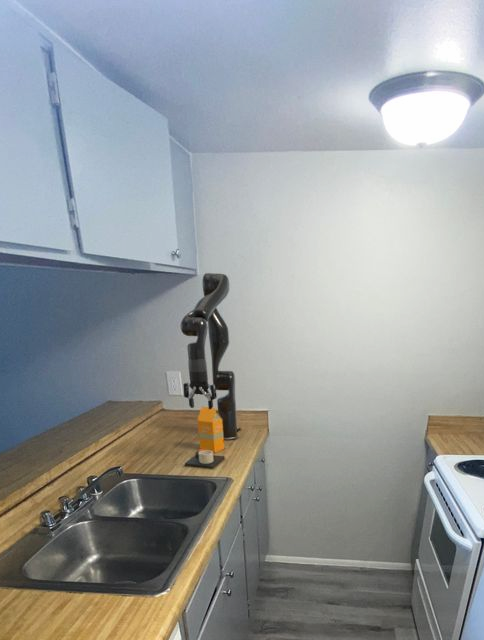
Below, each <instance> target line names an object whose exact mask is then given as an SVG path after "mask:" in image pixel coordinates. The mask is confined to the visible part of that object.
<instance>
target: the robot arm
mask: <svg viewBox="0 0 484 640" xmlns="http://www.w3.org/2000/svg"><path fill="white" fill-rule="evenodd" d="M230 284H231V283H230V279H229V276H227V275H226V274H224V273H212V272H211V273H210V272H206V273H204V274H203V275H202V292H203V297H202V298H200V299H199V300H198V301H197V302H196V304H195V306H194V308H193V309H192V310H191V311H189V312H188V313H186V315H184V316H183V317H182V319H181V321H180V331H181V333H182V334H183V335H185V336H186V337H197V338H196V341H193V342H189V343H188V344H187V358H188V359H187V360H188V361H187V362H188V363H187V364H188V368H187V369H188V374H189V382H190V383H189V382H185V383H183V397H184V398H187V399H188V405H189V406H188V407H190V409H194V408H195V399H194V396H195V395H201V396H202V395H203V396H204V397H205V398H206V399H207V400H208V401H207V403H208V404H207V405H208V406H207V407H208V408H209V409H212V408H214V400H215V399H217V400H216V402H217V403H216V405H217V411H218V413H219V415H220V416H221V418H222V424H223V440H224V441H231V440H235V439H238V432H239V431H240V430H241V427H238V423H237V422H238V421H237V400H236V375H235V371H232V370H220V364H221V361H222V359H223V357H224V355H225V354H226V352H227V350H228V347H229V346H230V335H229V334H230V333H229V326H228V325H227V323H226V321H225V319H224V318H223V316H222V315H221V313H220V311H219V309H218V307H219V305H220V304H221V303H222V302H223V301H224V300H225V299H226V298H227V297H228V295H229V293H230V289H231V288H230V287H231V285H230ZM207 333H208V341H209V346H210V348H209V349H210V355H211V373H212V374H211V375H212V384H209V383H208V382H209V377H208V366H207V365H208V363H207V358H206V341H207ZM190 389H191V391H190ZM209 390H210V391H209ZM217 391H228V392H227V393H226V394H224V395H223V396H219V397H218V395H217Z"/></svg>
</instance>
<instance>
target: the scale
mask: <svg viewBox="0 0 484 640" xmlns="http://www.w3.org/2000/svg"><path fill="white" fill-rule="evenodd" d="M225 459H226V456H224V455H216V454H213V460H214V461H213V462H212V463H210V464H202V463H200V462H199V454H198V450H197V451H195V452H194V456H193V457H192V458H190V459H188V460H187V461H186V462H185V463H184V466H185V467H188V468H189V467H190V468H198V469H199V468H200V469H210V470H214V469H215V468H216V467H217V466H218V465H219V464H220V463H222V462H223V461H225Z"/></svg>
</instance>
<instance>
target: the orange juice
mask: <svg viewBox="0 0 484 640" xmlns="http://www.w3.org/2000/svg"><path fill="white" fill-rule="evenodd" d="M197 427H198V428H197V430H198V439H199V449H205V450H210V451H213V454H214V453H217V452H219V451H222V450H224V449H225V442H224V441H225V440H223V424H222V418H221V416H220V415H219V413H218V408H216V407H215V408H214V407H212V409H209V407H208V406H201V407H200V411H199V414H198V418H197Z"/></svg>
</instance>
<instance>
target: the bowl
mask: <svg viewBox="0 0 484 640" xmlns="http://www.w3.org/2000/svg"><path fill="white" fill-rule="evenodd" d="M198 454H199V462H200V463H202V464H210V463H212V462H213V461H214V460H213V455H214V452H213V451H210V450H203V451H200V452H199V453H198Z"/></svg>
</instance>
